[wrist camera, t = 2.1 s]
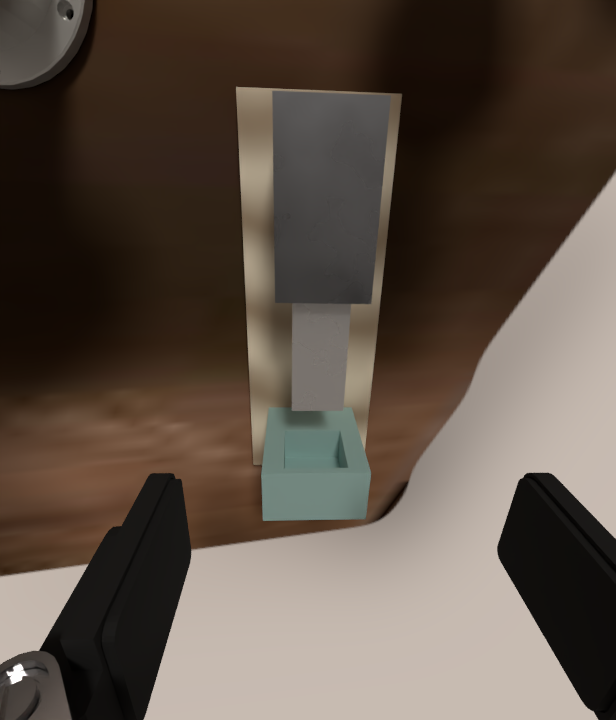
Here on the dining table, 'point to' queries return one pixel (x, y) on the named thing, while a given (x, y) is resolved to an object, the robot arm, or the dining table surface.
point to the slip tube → (319, 356)
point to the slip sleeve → (327, 194)
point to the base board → (264, 316)
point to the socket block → (313, 466)
